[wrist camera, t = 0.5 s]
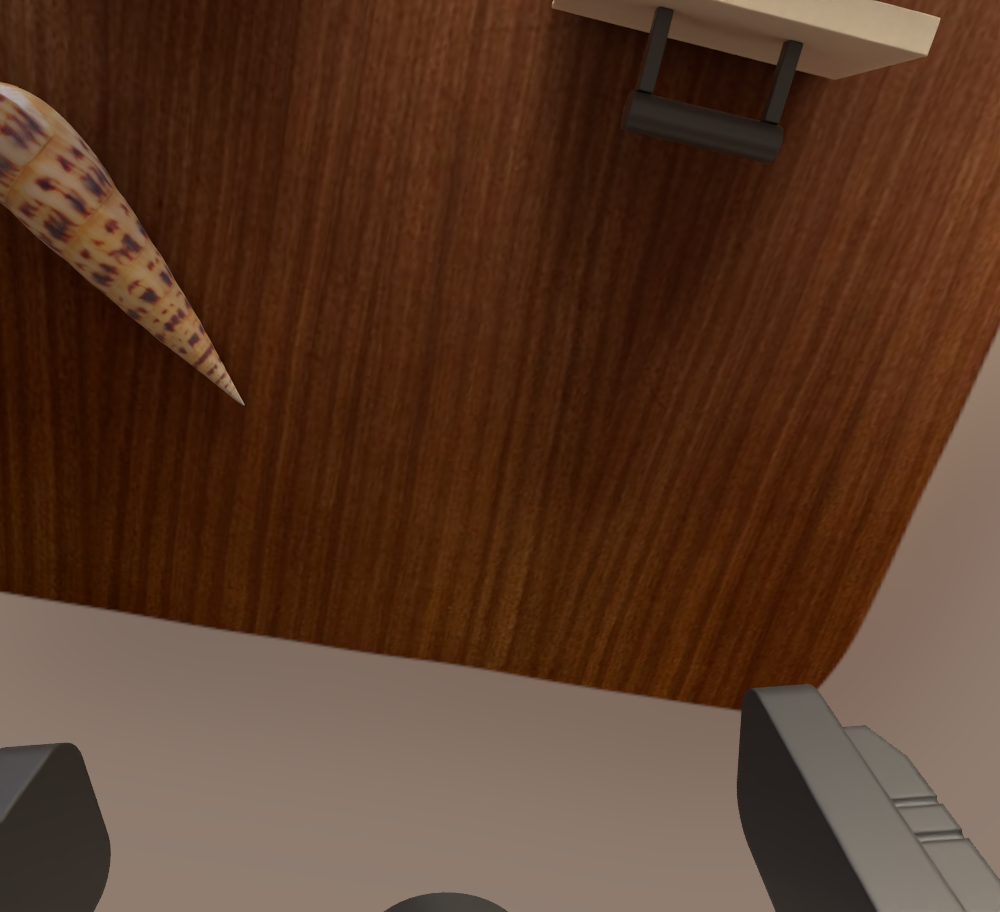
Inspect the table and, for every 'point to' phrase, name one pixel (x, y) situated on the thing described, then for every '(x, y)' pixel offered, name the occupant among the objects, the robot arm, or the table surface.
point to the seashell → (94, 226)
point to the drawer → (756, 57)
